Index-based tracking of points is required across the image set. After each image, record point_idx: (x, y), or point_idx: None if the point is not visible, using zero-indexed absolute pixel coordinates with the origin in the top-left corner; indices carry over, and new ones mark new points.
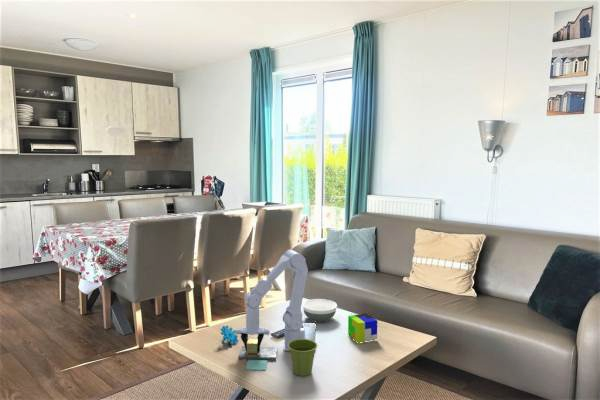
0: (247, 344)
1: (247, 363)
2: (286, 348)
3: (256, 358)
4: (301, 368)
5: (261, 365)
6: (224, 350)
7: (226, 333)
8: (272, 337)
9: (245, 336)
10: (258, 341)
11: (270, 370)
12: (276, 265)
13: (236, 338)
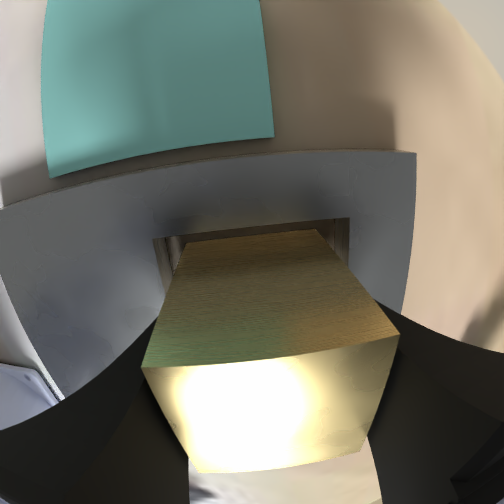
0: (375, 325)
1: (263, 40)
2: (29, 385)
3: (168, 167)
4: None
5: (84, 40)
6: (481, 308)
7: None
8: (191, 480)
9: (495, 459)
10: (106, 414)
11: (17, 23)
12: None
13: None
